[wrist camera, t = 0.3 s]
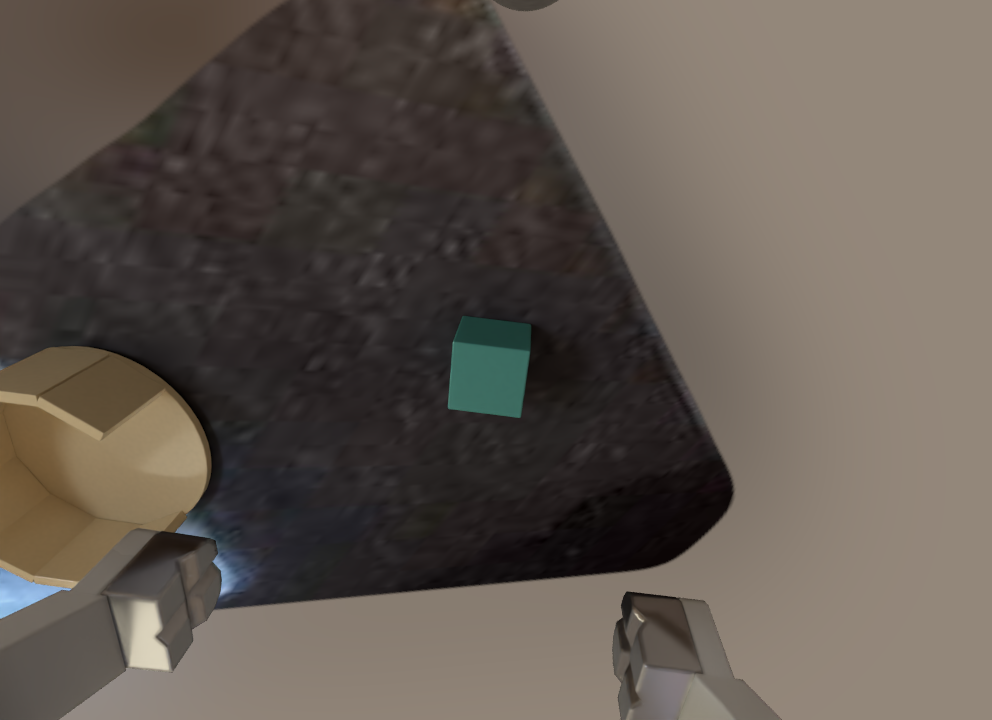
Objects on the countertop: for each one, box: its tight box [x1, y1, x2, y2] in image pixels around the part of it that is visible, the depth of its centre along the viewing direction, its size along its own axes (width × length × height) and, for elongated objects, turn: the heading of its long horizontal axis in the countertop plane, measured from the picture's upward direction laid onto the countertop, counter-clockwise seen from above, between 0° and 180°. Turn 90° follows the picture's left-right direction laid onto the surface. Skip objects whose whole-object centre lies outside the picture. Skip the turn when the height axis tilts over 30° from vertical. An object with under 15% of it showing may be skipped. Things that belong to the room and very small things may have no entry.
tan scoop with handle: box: [0, 346, 212, 588], centre depth 34 cm, size 14×21×6 cm, turn 84°
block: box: [448, 316, 531, 418], centre depth 31 cm, size 4×4×4 cm
